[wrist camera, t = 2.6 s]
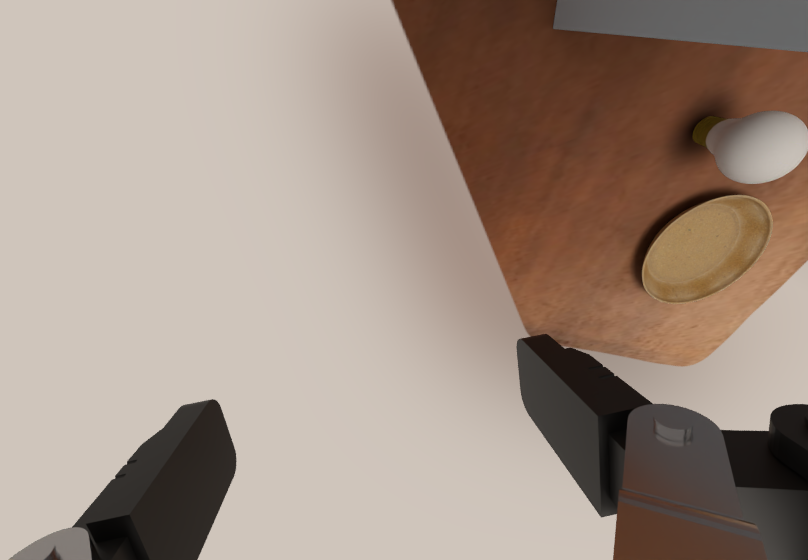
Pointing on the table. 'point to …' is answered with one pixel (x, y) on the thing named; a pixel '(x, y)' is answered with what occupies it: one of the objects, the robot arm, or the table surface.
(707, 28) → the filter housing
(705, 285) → the plant saucer
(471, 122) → the table surface
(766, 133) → the light bulb
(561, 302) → the table surface
